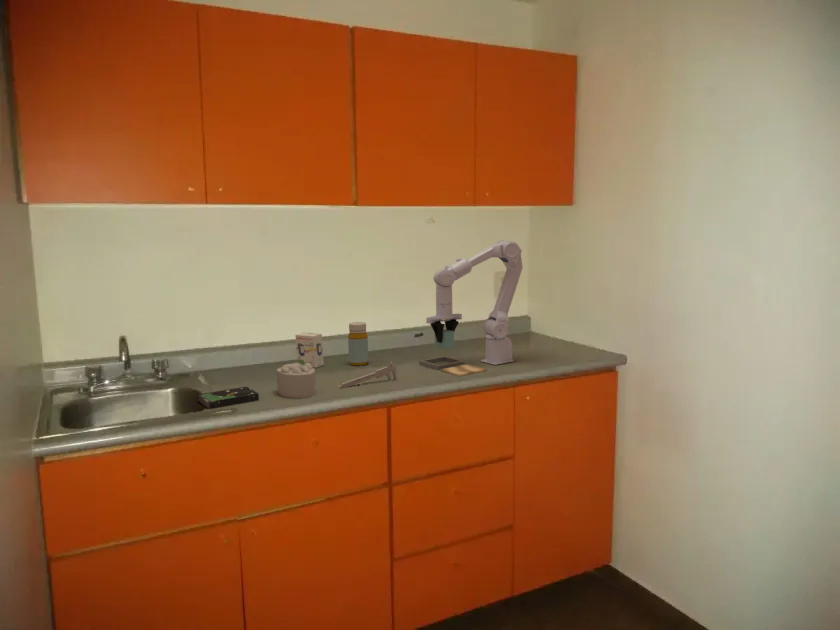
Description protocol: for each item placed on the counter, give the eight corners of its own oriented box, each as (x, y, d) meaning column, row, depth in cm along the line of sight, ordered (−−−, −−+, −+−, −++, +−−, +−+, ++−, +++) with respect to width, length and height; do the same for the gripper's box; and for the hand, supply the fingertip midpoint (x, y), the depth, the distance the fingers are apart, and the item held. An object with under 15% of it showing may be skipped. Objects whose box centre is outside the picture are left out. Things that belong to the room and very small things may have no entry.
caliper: (395, 379, 213) (394, 361, 212) (396, 380, 212) (396, 361, 211) (337, 388, 203) (336, 369, 202) (338, 389, 202) (338, 369, 201)
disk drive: (246, 395, 198) (198, 402, 190) (246, 386, 198) (197, 393, 189) (259, 402, 190) (209, 410, 181) (259, 393, 190) (208, 401, 181)
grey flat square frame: (445, 360, 240) (445, 356, 240) (464, 365, 231) (464, 361, 231) (419, 364, 233) (419, 360, 233) (438, 370, 224) (438, 365, 224)
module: (443, 345, 233) (443, 329, 232) (454, 347, 228) (453, 331, 228) (434, 346, 231) (434, 330, 230) (445, 349, 226) (445, 332, 225)
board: (467, 365, 230) (467, 364, 230) (486, 370, 222) (486, 369, 222) (440, 370, 223) (440, 369, 223) (459, 376, 215) (459, 374, 215)
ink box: (324, 365, 234) (323, 333, 233) (315, 368, 230) (314, 335, 228) (304, 363, 238) (303, 331, 236) (296, 366, 233) (294, 334, 232)
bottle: (354, 367, 231) (353, 325, 229) (345, 363, 237) (344, 323, 234) (371, 364, 235) (370, 323, 232) (362, 361, 240) (361, 321, 238)
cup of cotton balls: (304, 386, 206) (303, 359, 204) (323, 394, 195) (322, 366, 194) (273, 391, 200) (272, 364, 198) (291, 400, 189) (290, 371, 188)
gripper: (452, 300, 235) (453, 337, 237) (420, 304, 226) (421, 342, 228) (465, 302, 229) (465, 340, 231) (433, 306, 221) (433, 345, 223)
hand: (444, 341), depth 229 cm, fingers closed on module, 4 cm apart
